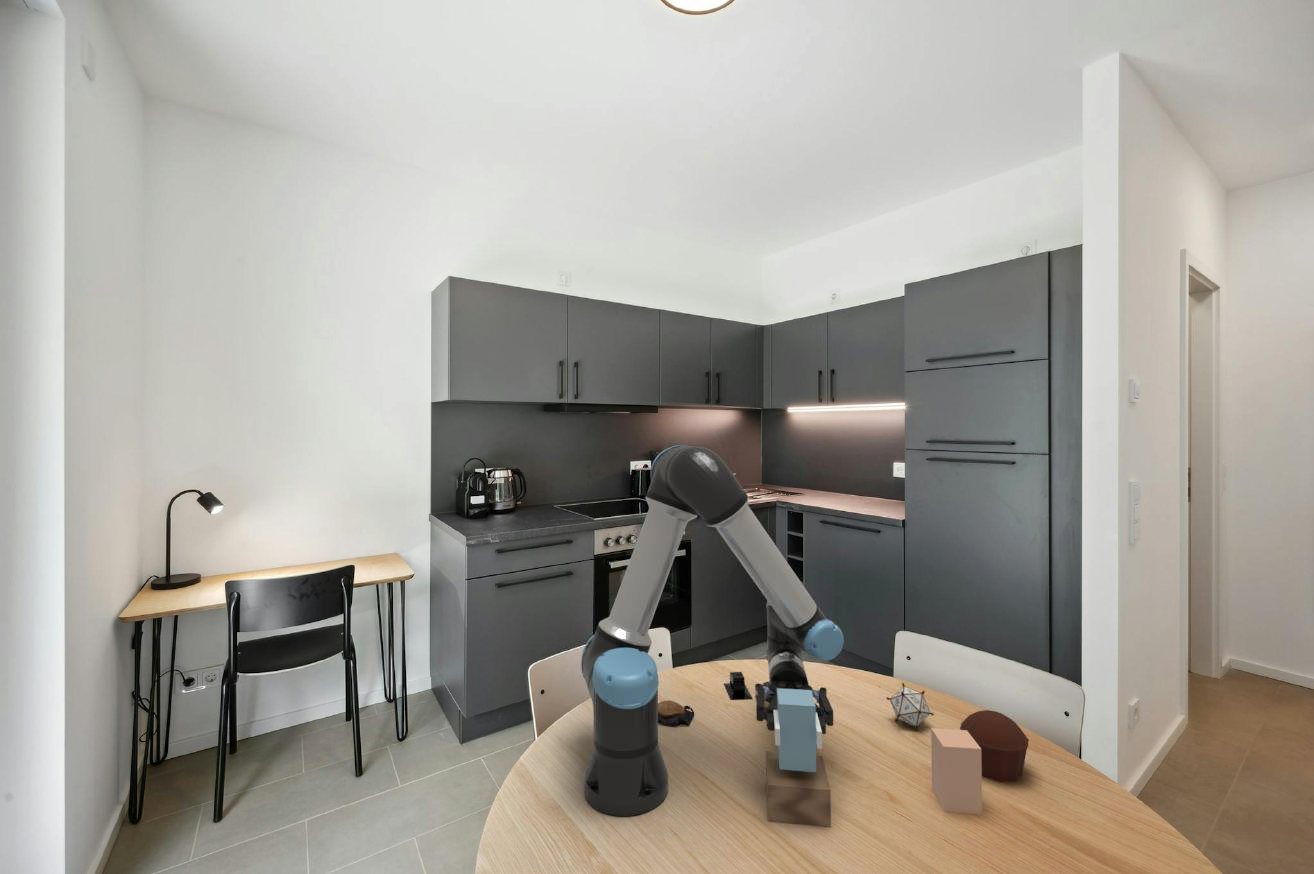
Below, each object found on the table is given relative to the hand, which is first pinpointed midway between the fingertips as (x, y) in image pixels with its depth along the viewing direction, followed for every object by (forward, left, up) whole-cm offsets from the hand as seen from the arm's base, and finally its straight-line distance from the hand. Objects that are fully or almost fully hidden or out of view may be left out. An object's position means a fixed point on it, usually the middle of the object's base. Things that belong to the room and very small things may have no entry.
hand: (798, 738), depth 92 cm
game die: (+27, +36, -14) cm, 47 cm away
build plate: (-11, +47, -15) cm, 51 cm away
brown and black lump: (-26, +32, -15) cm, 44 cm away
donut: (0, +42, -14) cm, 45 cm away
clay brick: (+27, +10, -14) cm, 32 cm away
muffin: (+38, +21, -14) cm, 46 cm away
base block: (0, +5, -14) cm, 15 cm away
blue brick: (0, +5, -6) cm, 8 cm away
